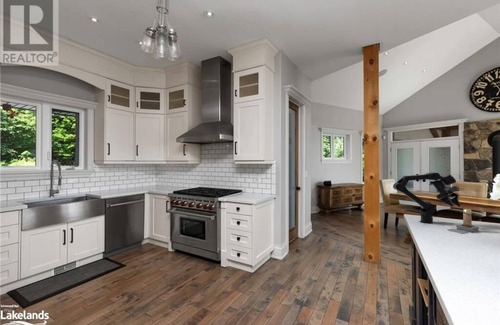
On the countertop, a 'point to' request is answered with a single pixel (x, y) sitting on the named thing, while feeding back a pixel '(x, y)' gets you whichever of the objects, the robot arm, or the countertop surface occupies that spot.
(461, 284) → the countertop surface
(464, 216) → the hook peg
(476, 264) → the countertop surface
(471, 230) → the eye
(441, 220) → the countertop surface
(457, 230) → the pad
